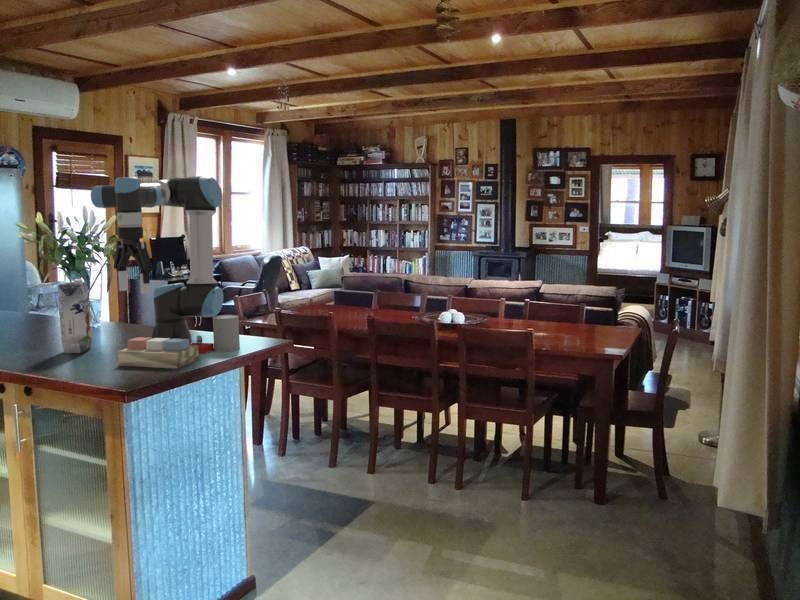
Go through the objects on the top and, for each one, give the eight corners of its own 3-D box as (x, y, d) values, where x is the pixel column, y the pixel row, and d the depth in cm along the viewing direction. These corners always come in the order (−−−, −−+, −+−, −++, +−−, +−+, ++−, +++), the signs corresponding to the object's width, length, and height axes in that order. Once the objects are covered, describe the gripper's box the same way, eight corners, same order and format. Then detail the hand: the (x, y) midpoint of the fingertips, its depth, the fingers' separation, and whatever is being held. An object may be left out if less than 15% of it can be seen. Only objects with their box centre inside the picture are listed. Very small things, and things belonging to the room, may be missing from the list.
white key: (156, 346, 245) (155, 337, 245) (170, 346, 244) (170, 338, 244) (146, 349, 240) (145, 340, 239) (161, 350, 238) (161, 341, 238)
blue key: (174, 347, 244) (173, 338, 243) (189, 347, 242) (188, 339, 242) (164, 350, 238) (164, 341, 238) (180, 351, 237) (179, 342, 236)
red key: (137, 345, 247) (137, 337, 247) (152, 346, 246) (152, 337, 245) (127, 348, 241) (127, 340, 241) (142, 349, 240) (142, 340, 240)
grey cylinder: (225, 345, 271) (223, 314, 270) (245, 347, 267) (243, 315, 265) (208, 350, 263) (206, 317, 261) (228, 352, 258) (227, 319, 257)
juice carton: (60, 354, 258) (55, 281, 255) (69, 349, 268) (64, 278, 265) (86, 353, 260) (81, 280, 256) (93, 347, 270) (88, 277, 266)
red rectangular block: (213, 350, 263) (213, 334, 263) (205, 354, 257) (204, 337, 256) (194, 349, 265) (193, 333, 264) (185, 353, 258) (184, 336, 258)
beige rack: (143, 357, 252) (142, 343, 251) (198, 359, 247) (198, 345, 246) (118, 365, 238) (117, 351, 238) (177, 368, 233) (176, 353, 233)
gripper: (99, 226, 231) (104, 290, 234) (139, 227, 215) (144, 296, 218) (121, 225, 236) (125, 288, 239) (162, 226, 220) (166, 293, 223)
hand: (134, 292), depth 228 cm, fingers open, 13 cm apart
